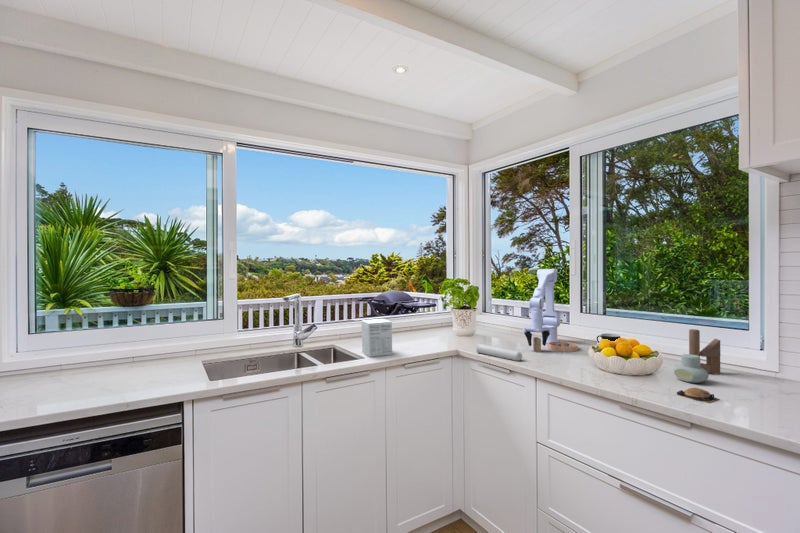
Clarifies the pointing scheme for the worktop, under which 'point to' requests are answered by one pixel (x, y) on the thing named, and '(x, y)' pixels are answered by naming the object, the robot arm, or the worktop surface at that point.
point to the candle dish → (562, 346)
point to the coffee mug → (609, 337)
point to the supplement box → (376, 337)
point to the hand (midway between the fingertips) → (537, 345)
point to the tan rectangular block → (536, 344)
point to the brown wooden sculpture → (705, 352)
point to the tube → (499, 352)
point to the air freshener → (691, 369)
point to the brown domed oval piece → (698, 395)
